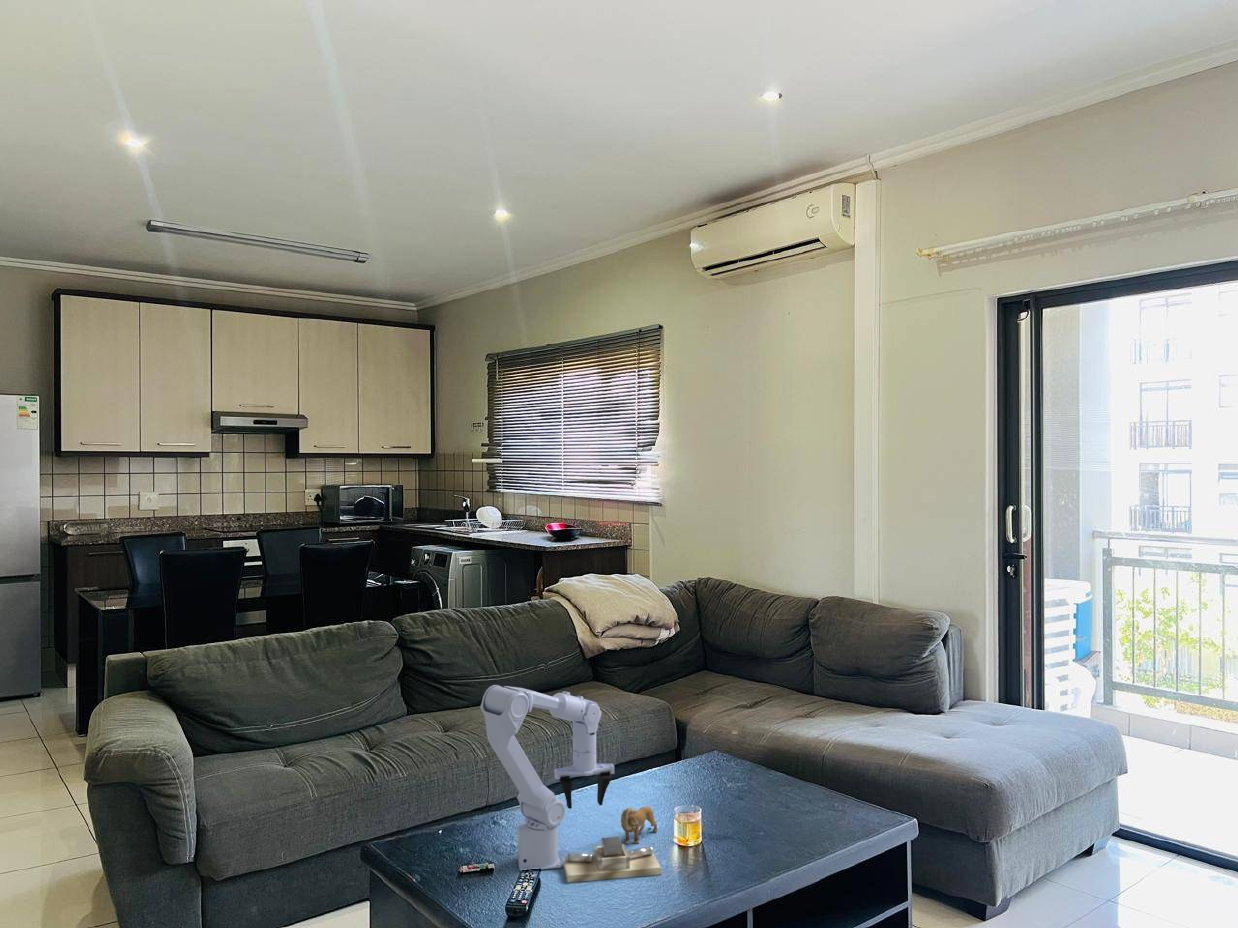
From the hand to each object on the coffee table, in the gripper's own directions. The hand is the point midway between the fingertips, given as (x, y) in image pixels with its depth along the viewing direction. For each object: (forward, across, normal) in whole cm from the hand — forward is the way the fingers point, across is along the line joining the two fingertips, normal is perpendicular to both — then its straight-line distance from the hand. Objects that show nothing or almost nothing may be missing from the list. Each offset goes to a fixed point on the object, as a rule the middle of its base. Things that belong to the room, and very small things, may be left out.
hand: (584, 805), depth 212 cm
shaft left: (+8, -4, -12) cm, 15 cm away
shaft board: (+9, +3, -15) cm, 18 cm away
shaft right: (+8, +10, -13) cm, 18 cm away
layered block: (+8, +3, -15) cm, 17 cm away
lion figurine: (+10, +14, 0) cm, 17 cm away
